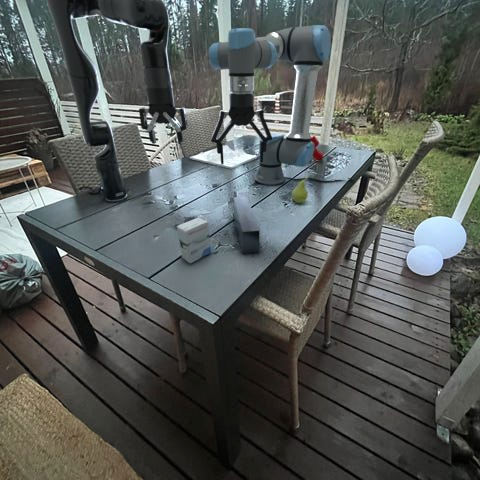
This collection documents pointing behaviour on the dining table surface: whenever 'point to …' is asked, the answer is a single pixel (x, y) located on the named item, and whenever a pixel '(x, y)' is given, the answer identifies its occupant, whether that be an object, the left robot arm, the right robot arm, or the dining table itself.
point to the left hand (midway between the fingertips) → (167, 143)
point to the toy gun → (316, 153)
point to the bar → (246, 225)
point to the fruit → (300, 192)
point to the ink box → (194, 239)
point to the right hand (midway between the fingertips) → (241, 162)
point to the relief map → (224, 157)
